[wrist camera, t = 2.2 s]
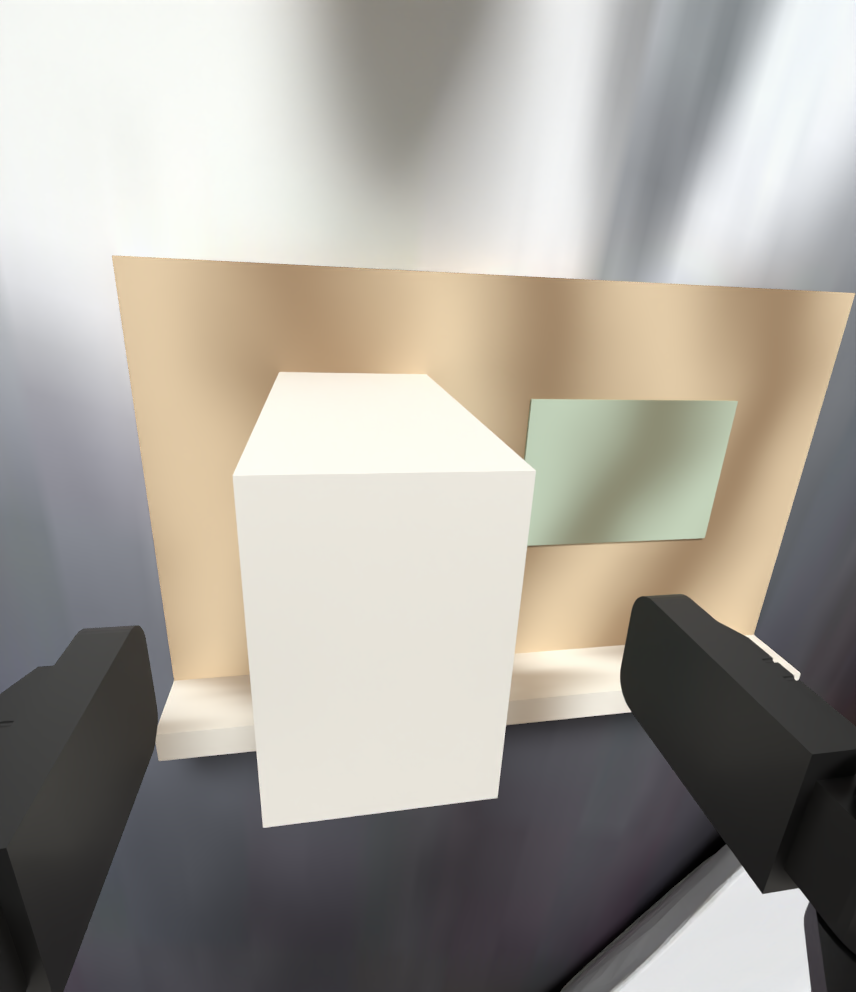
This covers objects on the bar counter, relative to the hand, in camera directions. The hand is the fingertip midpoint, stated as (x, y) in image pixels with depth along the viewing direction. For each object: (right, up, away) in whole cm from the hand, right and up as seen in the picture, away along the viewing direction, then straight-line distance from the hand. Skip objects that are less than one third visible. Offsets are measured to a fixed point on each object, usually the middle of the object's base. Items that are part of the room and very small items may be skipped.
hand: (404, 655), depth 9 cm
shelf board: (+3, +3, +10) cm, 11 cm away
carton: (-2, +3, +8) cm, 9 cm away
